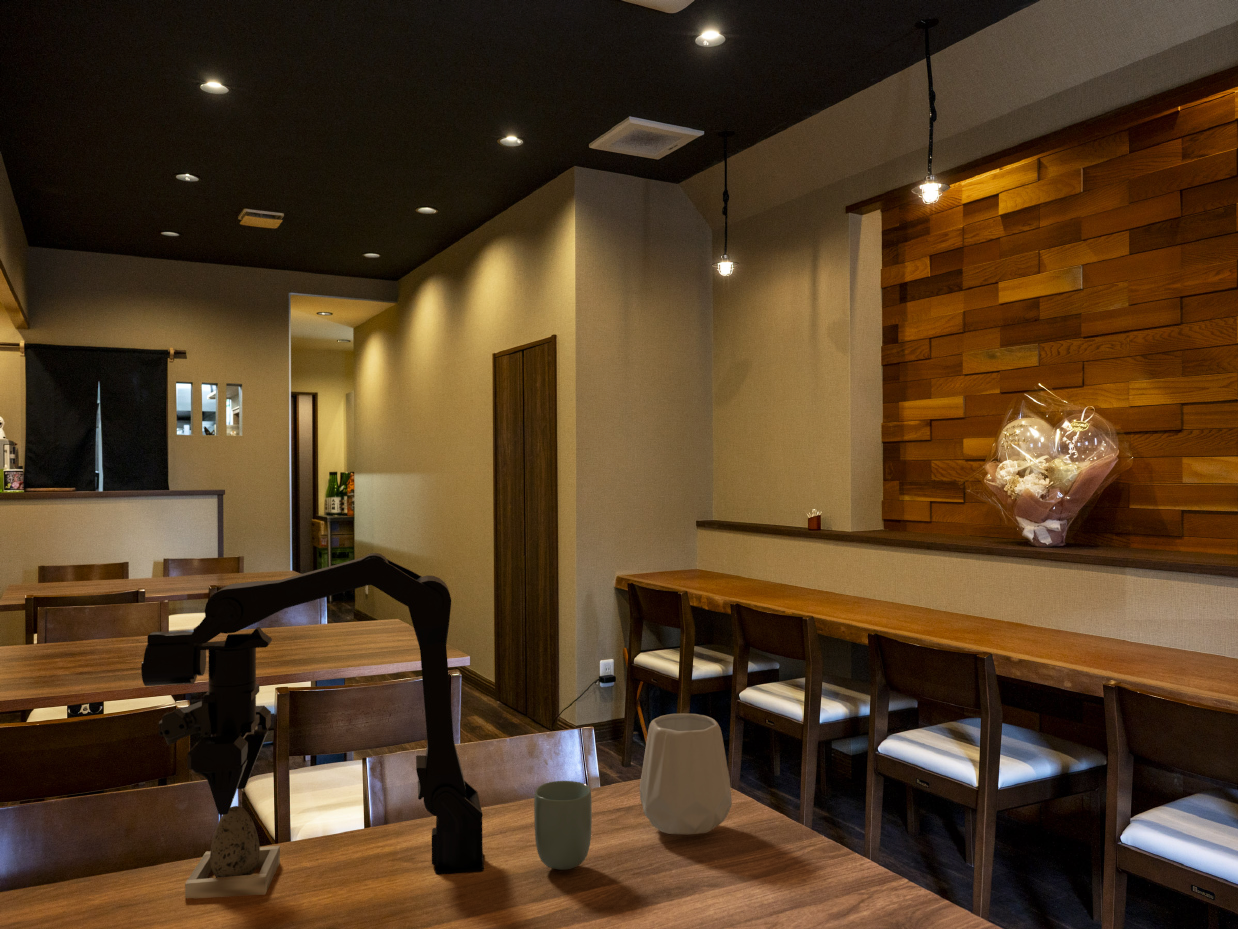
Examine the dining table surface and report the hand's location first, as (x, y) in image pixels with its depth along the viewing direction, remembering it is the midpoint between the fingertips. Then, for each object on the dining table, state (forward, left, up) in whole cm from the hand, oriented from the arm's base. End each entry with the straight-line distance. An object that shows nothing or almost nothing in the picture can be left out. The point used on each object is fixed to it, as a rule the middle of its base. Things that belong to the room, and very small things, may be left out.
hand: (232, 801), depth 118 cm
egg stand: (0, 0, -11) cm, 11 cm away
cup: (-43, +3, -11) cm, 45 cm away
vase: (-63, -8, -11) cm, 65 cm away
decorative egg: (0, 0, -11) cm, 11 cm away
